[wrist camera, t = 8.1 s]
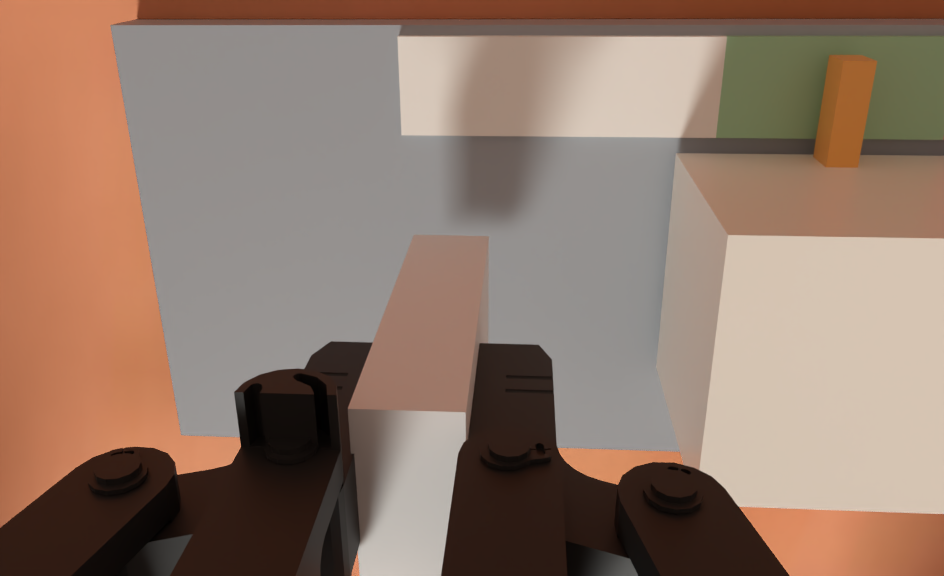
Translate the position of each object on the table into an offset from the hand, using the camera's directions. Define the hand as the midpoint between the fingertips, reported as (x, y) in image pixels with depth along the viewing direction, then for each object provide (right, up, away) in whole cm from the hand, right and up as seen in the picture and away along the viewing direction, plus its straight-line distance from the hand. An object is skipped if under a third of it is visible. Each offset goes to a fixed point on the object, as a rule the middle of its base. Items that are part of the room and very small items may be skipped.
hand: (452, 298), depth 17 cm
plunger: (+12, +1, 0) cm, 12 cm away
